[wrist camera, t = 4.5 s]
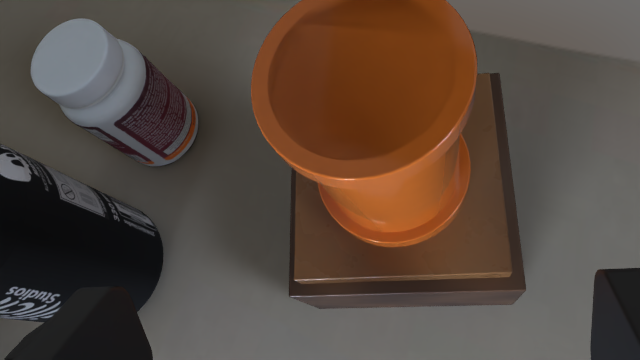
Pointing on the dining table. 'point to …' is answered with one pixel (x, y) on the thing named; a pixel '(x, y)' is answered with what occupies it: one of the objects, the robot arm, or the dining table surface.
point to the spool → (372, 111)
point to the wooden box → (427, 256)
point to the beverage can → (67, 241)
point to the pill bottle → (114, 92)
